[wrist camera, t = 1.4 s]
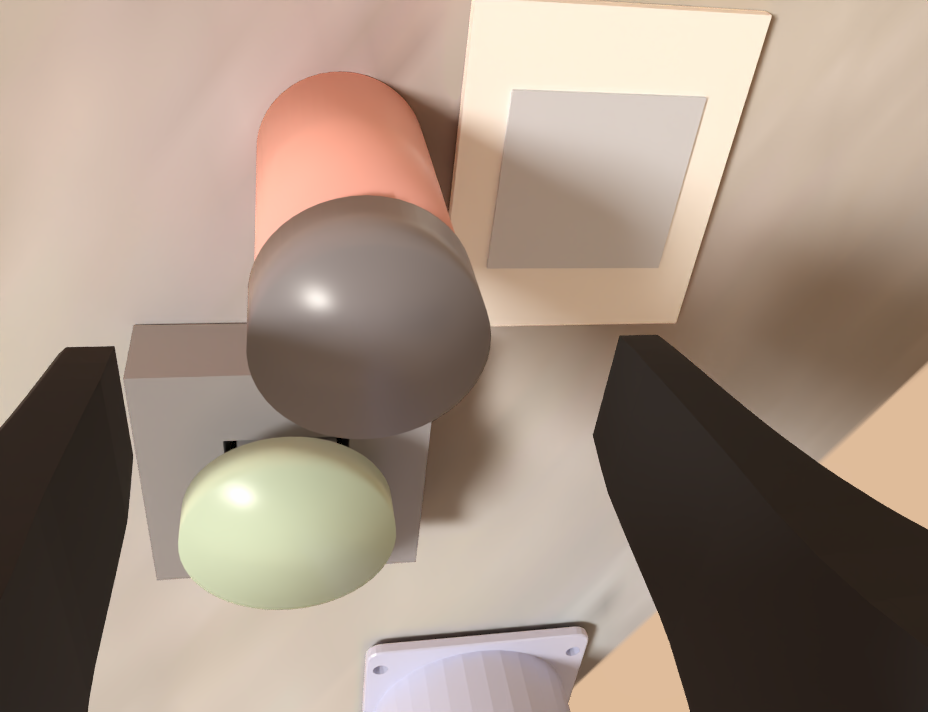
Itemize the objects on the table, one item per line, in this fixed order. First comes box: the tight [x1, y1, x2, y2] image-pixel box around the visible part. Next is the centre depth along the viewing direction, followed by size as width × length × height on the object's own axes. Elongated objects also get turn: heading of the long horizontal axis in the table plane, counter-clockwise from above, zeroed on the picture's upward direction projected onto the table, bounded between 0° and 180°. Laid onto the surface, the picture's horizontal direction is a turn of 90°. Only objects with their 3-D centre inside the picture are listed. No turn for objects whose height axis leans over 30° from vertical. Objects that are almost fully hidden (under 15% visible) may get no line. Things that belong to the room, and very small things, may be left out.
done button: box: [178, 437, 396, 610], centre depth 22 cm, size 5×5×3 cm
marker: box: [246, 72, 491, 439], centre depth 16 cm, size 4×4×7 cm
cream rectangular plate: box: [449, 0, 772, 326], centre depth 20 cm, size 8×6×1 cm
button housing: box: [123, 323, 431, 580], centre depth 23 cm, size 7×7×2 cm
